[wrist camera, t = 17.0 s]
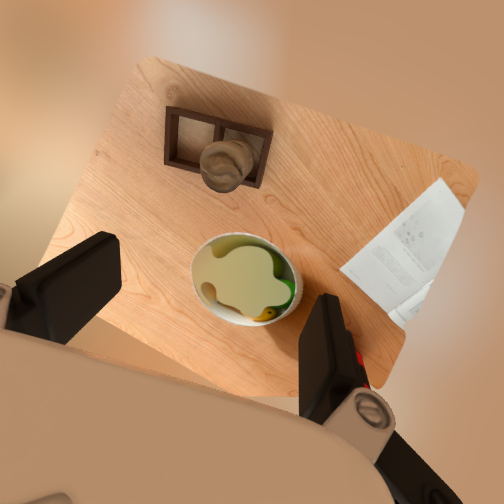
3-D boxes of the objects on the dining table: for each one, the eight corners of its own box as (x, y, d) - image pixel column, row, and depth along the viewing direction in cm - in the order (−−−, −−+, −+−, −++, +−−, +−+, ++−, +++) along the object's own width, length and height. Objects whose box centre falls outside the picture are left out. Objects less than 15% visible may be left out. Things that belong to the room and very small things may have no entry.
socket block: (273, 131, 38) (272, 132, 35) (261, 184, 42) (258, 189, 39) (174, 106, 38) (165, 105, 36) (171, 161, 42) (163, 164, 40)
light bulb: (222, 137, 39) (187, 147, 26) (256, 130, 38) (237, 138, 25) (229, 173, 42) (201, 199, 29) (262, 168, 41) (247, 193, 28)
